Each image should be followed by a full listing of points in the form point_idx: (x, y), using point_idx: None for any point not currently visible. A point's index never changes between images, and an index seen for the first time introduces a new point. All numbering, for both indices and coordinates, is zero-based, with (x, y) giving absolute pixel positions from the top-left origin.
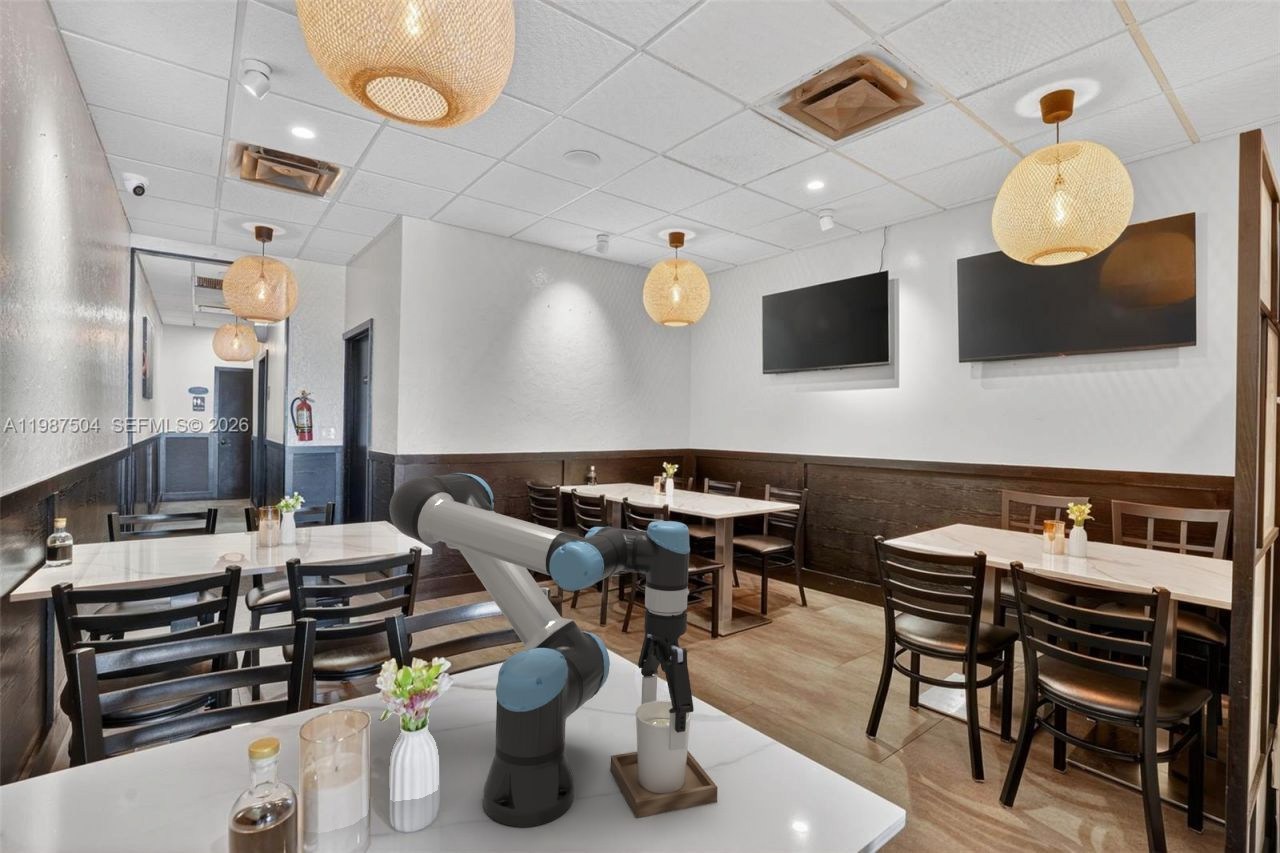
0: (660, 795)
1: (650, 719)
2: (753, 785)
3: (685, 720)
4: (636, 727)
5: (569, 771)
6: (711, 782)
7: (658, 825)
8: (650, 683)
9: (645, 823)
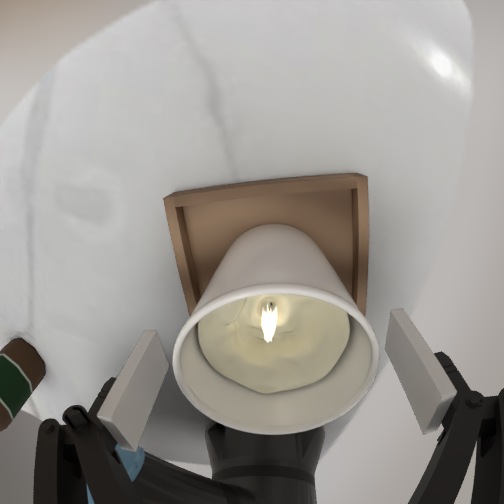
0: (358, 304)
1: (199, 352)
2: (315, 69)
3: (460, 376)
4: (261, 400)
5: None
6: (347, 182)
7: (383, 300)
8: (130, 417)
9: (371, 317)
